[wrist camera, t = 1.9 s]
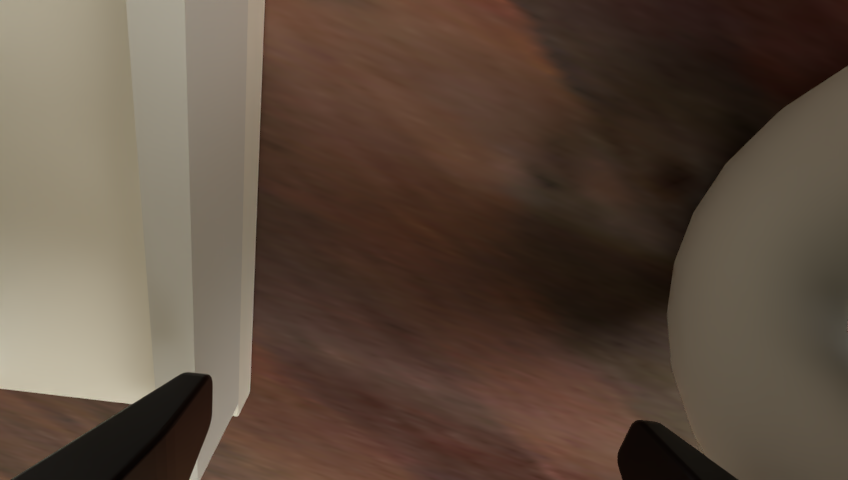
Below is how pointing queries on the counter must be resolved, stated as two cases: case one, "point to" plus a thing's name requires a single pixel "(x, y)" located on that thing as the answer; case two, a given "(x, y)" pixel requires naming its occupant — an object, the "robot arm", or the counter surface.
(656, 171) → the counter surface
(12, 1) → the tiered shelf rack
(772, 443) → the donut
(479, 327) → the counter surface
